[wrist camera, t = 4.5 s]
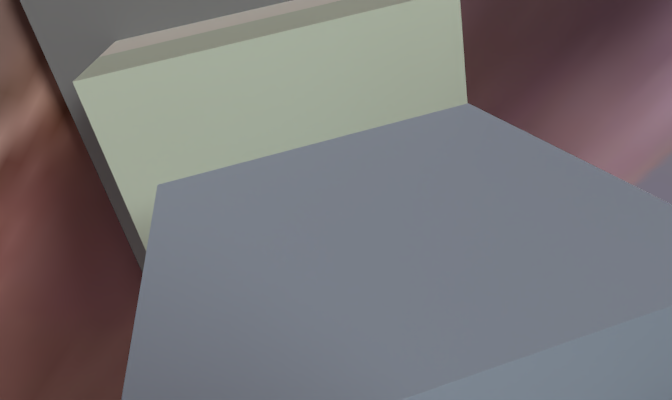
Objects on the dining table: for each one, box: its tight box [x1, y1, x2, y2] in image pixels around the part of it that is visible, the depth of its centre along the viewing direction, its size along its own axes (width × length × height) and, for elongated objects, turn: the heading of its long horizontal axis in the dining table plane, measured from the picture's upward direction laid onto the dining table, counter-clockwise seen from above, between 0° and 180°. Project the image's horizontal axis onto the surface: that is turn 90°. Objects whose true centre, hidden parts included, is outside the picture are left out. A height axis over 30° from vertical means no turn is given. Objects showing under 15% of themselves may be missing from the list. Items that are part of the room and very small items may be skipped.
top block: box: [121, 103, 672, 400], centre depth 7 cm, size 5×5×5 cm
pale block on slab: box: [20, 0, 467, 273], centre depth 15 cm, size 12×12×7 cm
